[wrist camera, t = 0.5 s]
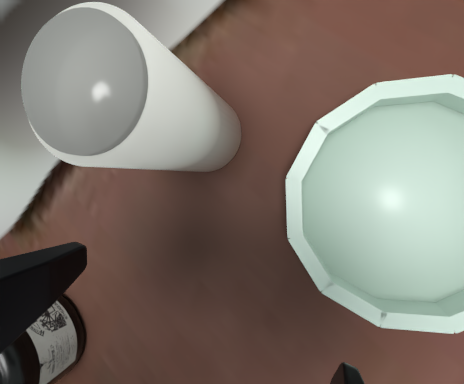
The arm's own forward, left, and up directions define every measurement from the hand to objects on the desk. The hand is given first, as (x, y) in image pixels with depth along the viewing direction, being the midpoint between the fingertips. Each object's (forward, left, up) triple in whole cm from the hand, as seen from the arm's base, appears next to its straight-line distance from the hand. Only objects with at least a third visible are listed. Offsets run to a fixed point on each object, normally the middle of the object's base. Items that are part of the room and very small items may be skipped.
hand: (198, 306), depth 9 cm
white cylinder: (+4, +8, -14) cm, 16 cm away
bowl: (+6, -7, -14) cm, 17 cm away
